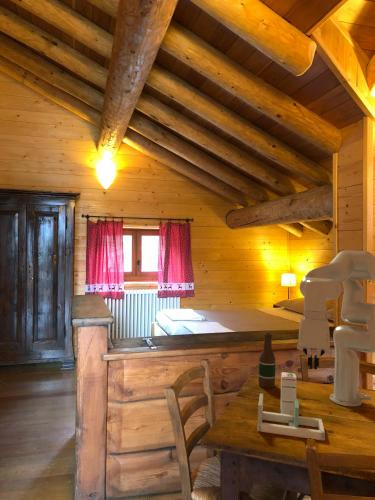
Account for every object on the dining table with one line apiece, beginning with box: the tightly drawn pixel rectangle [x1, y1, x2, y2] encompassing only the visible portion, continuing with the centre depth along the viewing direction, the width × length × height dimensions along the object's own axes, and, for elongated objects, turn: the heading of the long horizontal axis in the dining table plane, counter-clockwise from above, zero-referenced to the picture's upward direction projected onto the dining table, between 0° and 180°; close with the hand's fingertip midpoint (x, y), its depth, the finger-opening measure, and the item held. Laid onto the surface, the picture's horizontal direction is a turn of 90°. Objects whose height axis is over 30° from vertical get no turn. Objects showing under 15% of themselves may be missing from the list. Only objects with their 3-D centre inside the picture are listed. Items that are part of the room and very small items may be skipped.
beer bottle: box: [257, 332, 276, 389], centre depth 176 cm, size 8×8×24 cm
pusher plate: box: [288, 399, 300, 428], centre depth 134 cm, size 3×7×9 cm, turn 166°
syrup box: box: [280, 371, 297, 415], centre depth 148 cm, size 6×6×14 cm
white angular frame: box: [256, 393, 326, 442], centre depth 134 cm, size 22×11×9 cm, turn 76°
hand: (312, 367), depth 133 cm, fingers closed
